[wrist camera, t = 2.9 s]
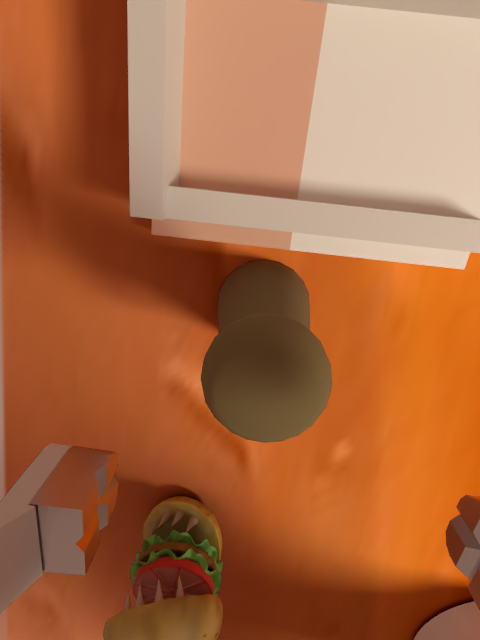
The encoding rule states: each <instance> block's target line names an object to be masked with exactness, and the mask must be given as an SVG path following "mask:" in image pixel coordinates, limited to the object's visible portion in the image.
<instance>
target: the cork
mask: <svg viewBox="0 0 480 640" xmlns="http://www.w3.org/2000/svg"><path fill="white" fill-rule="evenodd" d="M217 306H218V327H219V334H218V335H217V336H216V337H215V338H214V340H213V342H212V344H211V345H210V347H209V349H208V351H207V353H206V355H205V358H204V361H203V367H202V374H201V382H202V387H203V392H204V397H205V402H206V404H207V405H208V407H209V409H210V410H211V412H212V414H213V415H214V417H215V418H216V419H217V420H218V421H219V422H220V423H221V424H223V425H224V426H225V427H226V428H227V429H228V430H229V431H230V432H232V433H234V434H236V435H238V436H240V437H243V438H245V439H247V440H253V441H258V442H277V441H283V440H286V439H289V438H292V437H295V436H297V435H299V434H300V433H302V432H303V431H305V430H306V429H307V428H309V427H310V426H312V424H313V423H314V422H315V421H316V420H317V418H318V417H319V416H320V415H321V413H322V412H323V411H324V409H325V408H326V405H327V402H328V399H329V396H330V393H331V387H332V377H331V364H330V362H329V360H328V357H327V355H326V353H325V351H324V348H323V346H322V344H321V342H320V341H319V339H318V338H317V337H316V336H315V335H314V334H313V333H312V332H311V331H310V306H309V293H308V291H307V289H306V286H305V284H304V282H303V280H302V279H301V278H300V277H299V275H298V274H297V273H296V272H295V271H294V270H293V269H291V268H289V267H288V266H286V265H284V264H282V263H280V262H275V261H270V260H258V261H251V262H248V263H246V264H244V265H242V266H240V267H238V268H236V269H235V270H234V271H233V272H232V273H231V274H230V275H229V276H228V277H227V278H226V279H225V281H224V283H223V285H222V287H221V289H220V291H219V297H218V304H217Z"/></svg>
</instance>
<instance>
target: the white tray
mask: <svg viewBox="0 0 480 640" xmlns="http://www.w3.org/2000/svg"><path fill="white" fill-rule="evenodd" d="M127 17H128V100H129V182H130V217H139V218H148V219H152V235H160V236H169V237H178V238H187V239H196V240H205V241H214V242H223V243H231V244H240V245H249V246H258V247H267V248H276V249H285V250H294V251H303V252H312V253H321V254H330V255H339V256H348V257H357V258H366V259H374V260H383V261H392V262H401V263H410V264H419V265H428V266H437V267H446V268H455V269H465V266H466V263H467V260H468V257H469V254H470V252H474V253H480V0H127Z"/></svg>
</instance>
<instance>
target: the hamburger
mask: <svg viewBox="0 0 480 640" xmlns="http://www.w3.org/2000/svg"><path fill="white" fill-rule="evenodd" d="M221 551H222V534H221V530H220V527H219V524H218V522H217V520H216V518H215V517H214V515H213V514H212V512H211V511H210V510H209V509H208V508H207V507H206V506H205V505H203V504H202V503H200V502H199V501H197V500H195V499H192V498H189V497H184V496H176V497H172V498H168V499H166V500H163V501H162V502H160V503H159V504H157V505H156V506H155V507H154V508H153V510H152V511H151V512H150V513H149V515H148V517H147V519H146V521H145V522H144V525H143V545H142V552H137V555H136V561H135V562H134V563H133V564H132V565H131V568H130V576H131V577H130V579H131V581H132V586H133V592H134V595H135V597H136V602H135V607H134V608H132V609H131V603H130V597H129V591H128V594H127V597H126V602H125V606H124V610H123V611H122V612H121V613H119V614H117V615H115V616H114V617H112V618H109V619H108V621H107V622H106V623H105V626H104V631H103V637H104V640H217V639H218V636H219V634H220V631H221V627H222V621H223V606H222V602H221V600H220V598H219V597H218V596H217V595H219V592H216V591H217V590H218V589H220V587H221V576H220V574H221V571H222V564H223V562H222V561H220V559H221Z"/></svg>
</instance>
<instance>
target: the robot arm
mask: <svg viewBox="0 0 480 640" xmlns="http://www.w3.org/2000/svg"><path fill="white" fill-rule="evenodd" d="M117 467H118V454H117V453H116V452H112V451H106V450H99V449H92V448H85V447H79V446H68V445H62V444H56V443H51V444H49V445H47V446H46V447H45V448H44V449H43V450H42V451H41V452H40V454H39V455H38V456H37V457H36V459H35V460H34V461H33V462H32V463H31V465H30V466H29V467H28V468H27V470H26V471H25V472H24V473H23V474H22V476H21V477H20V478H19V479H18V481H17V482H16V483H15V484H14V485H13V487H12V488H11V489H10V490H9V491H8V493H7V494H6V495H5V496H4V498H3V499H2V500H1V501H0V613H1V612H2V611H3V610H4V609H6V608H7V607H8V606H9V605H10V604H11V603H12V602H13V601H14V600H16V599H17V598H18V597H19V596H20V595H21V594H22V593H23V592H24V591H26V590H27V589H28V588H29V587H30V586H31V585H32V584H33V583H34V582H36V581H37V580H38V579H39V578H40V577H41V576H42V575H43V572H51V573H63V574H74V575H86V573H87V571H88V569H89V566H90V564H91V562H92V560H93V557H94V555H95V553H96V550H97V548H98V546H99V531H100V530H101V529H103V528H104V527H105V526H107V525H108V523H109V521H110V518H111V516H112V513H113V510H114V507H115V503H116V500H117V493H118V479H117V478H116V477H115V475H114V473H115V471H116V469H117ZM457 509H458V512H459V514H460V515H458V516H457V517H455V518H453V519H452V520H450V522H449V524H448V527H447V530H446V545H447V548H448V552H449V555H450V557H451V559H452V561H453V562H454V564H455V566H456V567H457V568H458V569H459V570H460V571H461V572H462V573H463V574H464V575H465V576H467V577H468V586H467V588H468V590H469V592H470V594H471V596H472V598H473V599H474V601H473V602H469V603H466V604H462V605H459V606H456V607H454V608H451V609H449V610H447V611H444V612H443V613H441V614H439V615H437V616H436V617H434V618H433V619H431V620H430V621H429V622H427V623H426V624H425V625H424V626H423V627H422V628H421V629H420V630H419V632H418V633H417V634H416V636H415V638H414V640H480V496H471V495H465V496H464V497H462V498H461V499H460V501H459V503H458V505H457Z"/></svg>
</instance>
